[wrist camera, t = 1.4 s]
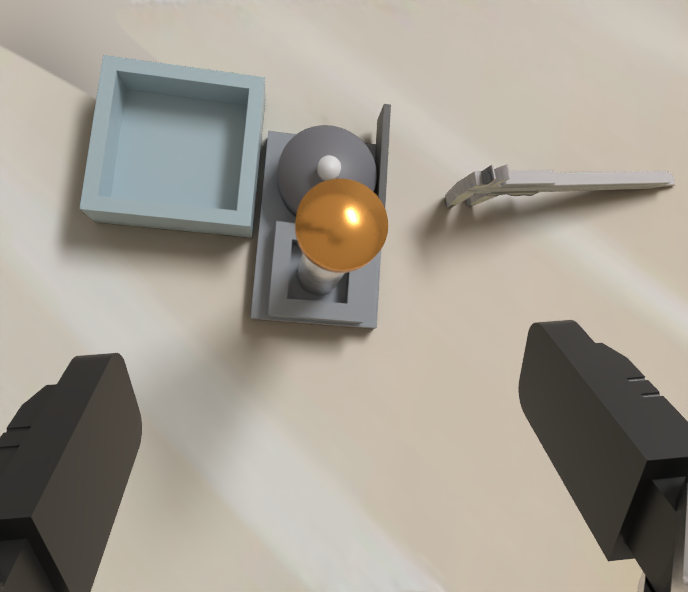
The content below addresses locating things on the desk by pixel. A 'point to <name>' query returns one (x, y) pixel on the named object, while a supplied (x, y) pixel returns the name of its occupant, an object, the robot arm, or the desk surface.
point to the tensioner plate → (280, 215)
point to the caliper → (547, 183)
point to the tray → (174, 148)
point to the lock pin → (337, 232)
